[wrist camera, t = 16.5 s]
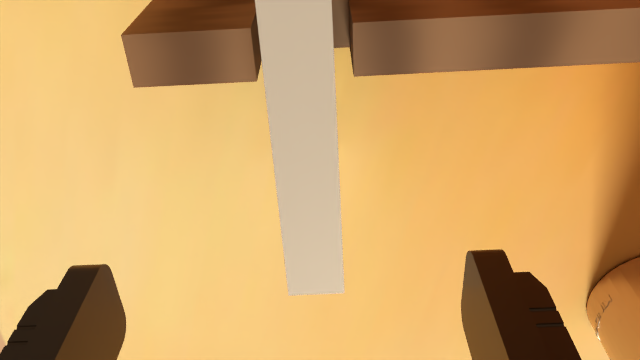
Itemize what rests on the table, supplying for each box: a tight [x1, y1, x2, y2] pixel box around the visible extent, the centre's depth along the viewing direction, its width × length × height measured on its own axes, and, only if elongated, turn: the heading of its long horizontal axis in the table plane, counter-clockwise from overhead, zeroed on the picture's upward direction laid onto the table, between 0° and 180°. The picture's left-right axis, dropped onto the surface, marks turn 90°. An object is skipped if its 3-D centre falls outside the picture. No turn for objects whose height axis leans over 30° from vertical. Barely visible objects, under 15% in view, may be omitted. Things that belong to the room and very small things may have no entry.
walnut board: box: [121, 0, 640, 87], centre depth 29 cm, size 26×2×8 cm, turn 93°
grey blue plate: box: [255, 0, 344, 295], centre depth 27 cm, size 18×2×14 cm, turn 3°
